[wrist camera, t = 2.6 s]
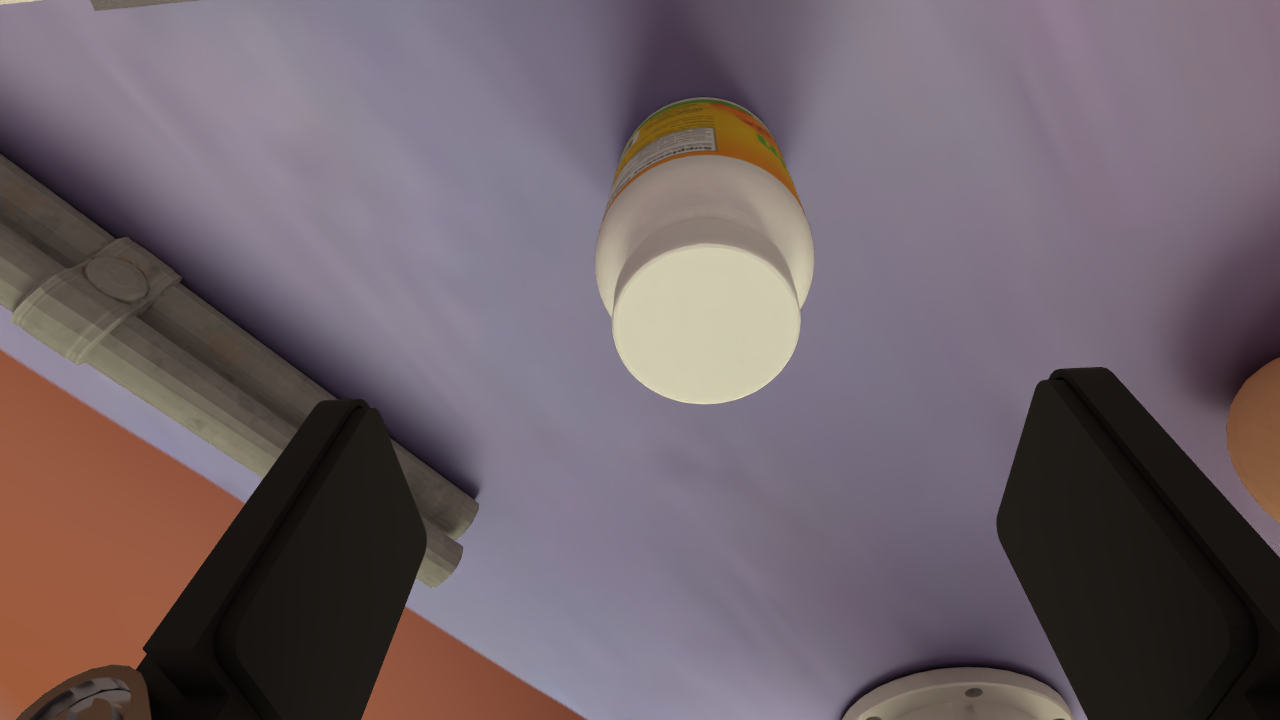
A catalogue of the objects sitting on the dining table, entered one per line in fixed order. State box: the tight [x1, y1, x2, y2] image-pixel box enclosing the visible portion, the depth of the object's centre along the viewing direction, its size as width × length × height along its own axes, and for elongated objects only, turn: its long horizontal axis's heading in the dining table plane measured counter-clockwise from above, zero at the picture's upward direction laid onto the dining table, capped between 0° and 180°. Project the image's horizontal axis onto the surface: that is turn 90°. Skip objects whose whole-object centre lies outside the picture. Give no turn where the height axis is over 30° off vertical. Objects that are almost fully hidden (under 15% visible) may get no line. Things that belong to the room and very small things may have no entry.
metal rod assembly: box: [0, 154, 479, 588], centre depth 25 cm, size 26×3×5 cm, turn 42°
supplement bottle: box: [595, 97, 814, 404], centre depth 18 cm, size 5×5×10 cm
